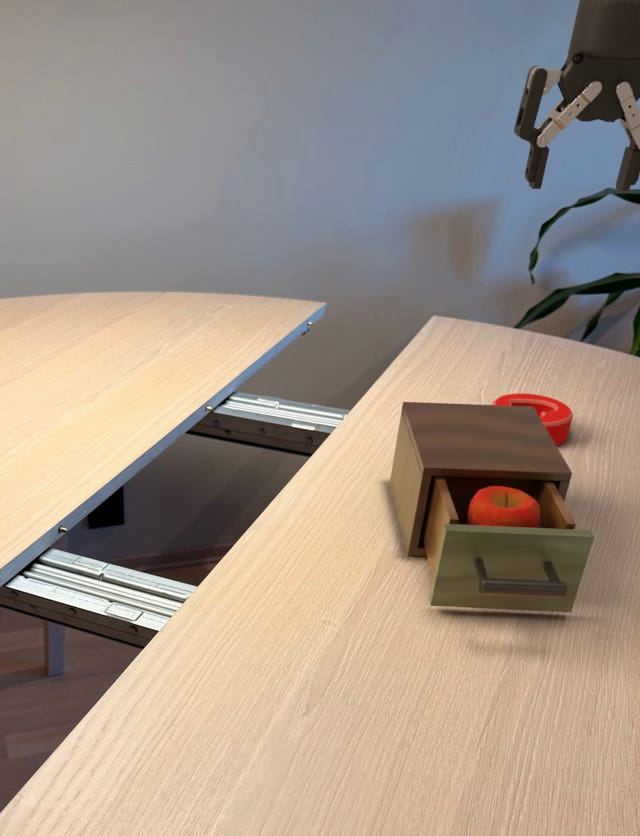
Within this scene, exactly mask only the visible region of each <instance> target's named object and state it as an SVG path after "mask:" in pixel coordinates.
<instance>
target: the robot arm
mask: <svg viewBox="0 0 640 836" xmlns="http://www.w3.org/2000/svg"><path fill="white" fill-rule="evenodd" d="M555 84H557V86H558V89H559V92H560V94H561V96H562V98H561V99H560V100H559V101H558V102H557V103H556V105H555V106H554V107H553V108H552V109H551V110H550V111H549V112H548V114H547V116H546V118H545V119H543V121H542V122H541V123H540V124H539V125H538V126H537V127H535V125H536V122H537V118H538V117H537V116H538V113H539V110H540V106H541V102H542V98H543V96H546V95H547V94H549V93H550V92H551V90H552V87H553V86H554V85H555ZM639 100H640V0H579V1H578V5H577V10H576V14H575V19H574V23H573V28H572V33H571V37H570V42H569V46H568V51H567V56H566V59H565V62H564V64H563V66H562V67H561V68H560V69H549V68H544V67H542V66H539V65H532V66H531V67H530V68H529V70H528V73H527V76H526V81H525V84H524V88H523V92H522V96H521V99H520V104H519V109H518V112H517V116H516V120H515V124H514V127H513V132H514V134H515V135H516V136H518V137H519V138H520V139H521V140H523V141H526V142H528V143H529V153H528V157H527V161H526V165H525V171H524V178H525V180H526V181H527V182H528V186H529V187H530V188H531V189H532V190H541V188H542V185H543V180H544V176H545V173H546V168H547V167H546V166H547V162H548V158H549V153H550V148H549V146H548V145H549V144H550V143H551V142H552V141H553V140H554V139H555V138H556V137H557V136H558V134H560V132H562V131H563V130H564V129H567V127H569V125H570V124H571V123H572V122H573V121H574V120H575V119H576V120H578V121H580V122H586V123H587V122H588V123H590V122H594V121H598V120H600V121H602V122H606V123H615V122H616V121H617V120H618V121H619V123H620V125H621V126H622V128H623V130H624V132H625V134H626V136H627V138H628V141H629V145H628V146H625V148H624V152H623V154H622V155H623V156H622V159H621V163H620V167H619V170H618V175H617V179H616V183H615V189H616V190H618V191H619V192H621V193H622V192H624V193H625V192H629V191H630V189H631V186H635V185H636V184H637V182H638V181H639V178H640V107H639V104H638V103H637V102H638V101H639Z"/></svg>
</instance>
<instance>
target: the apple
mask: <svg viewBox="0 0 640 836" xmlns="http://www.w3.org/2000/svg"><path fill="white" fill-rule="evenodd" d="M539 521H540V507H539V504H538V503H537V501H536V500H535V499H534V498H532V497H531V496H529V495H527V494H526V493H524V492H523V491H520V490H517V489H513V488H508V487H502V486H490V487H487V488H484V489H481V490H479V491H478V492H477V493H476V494H475V496H474V497H473V499H472V500H471V502H470V506H469V510H468V522H467V525H482V526H505V527H528V528H538V525H539Z"/></svg>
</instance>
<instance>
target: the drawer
mask: <svg viewBox="0 0 640 836" xmlns="http://www.w3.org/2000/svg"><path fill="white" fill-rule="evenodd" d="M490 486H502V487H508V488H513V489H517V490H520V491H523V492H524V493H526V494H527V495H529V496H531V497H532V498H534V499H535V500H536V501H537V503H538V504H539V507H540V521H539V525H538V528H528V527H505V526H482V525H467V522H468V510H469V506H470V502H471V500H472V499H473V497H474V496H475V494H476V493H477V492H478V491H479V490H481V489H484V488H487V487H490ZM576 526H577V523H576V521H575V519H574V518H573V516H572V514H571V512H570V510H569V509H568V507H567V505H566V503H565V501H563V499H562V497H561V496H560V494H559V492H558V490H557V488H556V486H555V485H554V483H553V481H551V480H527V479H502V478H478V477H453V476H432V477H431V482H430V488H429V493H428V498H427V503H426V509H425V514H424V519H423V524H422V530H421V536H422V540H423V543H424V547H425V550H426V554H427V556H426V557H427V561H428V564H429V568H430V572H431V576H432V580H431V586H430V590H429V596H428V601H429V605H430V607H431V606H432V607H448V608H450V607H451V608H470V609H488V610H489V609H492V610H510V611H511V610H513V611H530V612H531V611H534V612H552V613H553V612H554V613H572V611H573V607H574V604H575V602H576V601H575V600H576V598H577V594H578V591H579V587H580V585H581V581H582V579H583V575H584V573H585V572H584V571H585V569H586V565H587V562H588V559H589V555H590V553H591V549H592V547H593V543H594V539H595V535H594V533H593V532H592V530H590V529H576Z"/></svg>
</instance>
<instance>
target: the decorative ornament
mask: <svg viewBox="0 0 640 836" xmlns="http://www.w3.org/2000/svg"><path fill="white" fill-rule="evenodd" d="M491 405H503V406H531V407H534V409H535V410H536V412H537V414H538V415H539V417H540V419H541V421H542V422H543V424H544V426H545V427H546V429H547V431H548V432H549V434H550V436H551V438H552V439H553V441H554V443H555V444H556V446H560V445H561V444H563V443H565V442H566V441H567V439H568V437H569V432H570V429H571V425H572V422H573V417H574V413H573V411H572V409H571V408H570V407H569V406H568V405H567V404H566V403H564V402H562V401H561V400H558V399H555V398H553V397H549V396H545V395H541V394H535V393H525V392H524V393H521V392H519V393H508V394H504V395H501V396H499V397H497V398H495V399H494V400H493V401H492V403H491Z"/></svg>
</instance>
